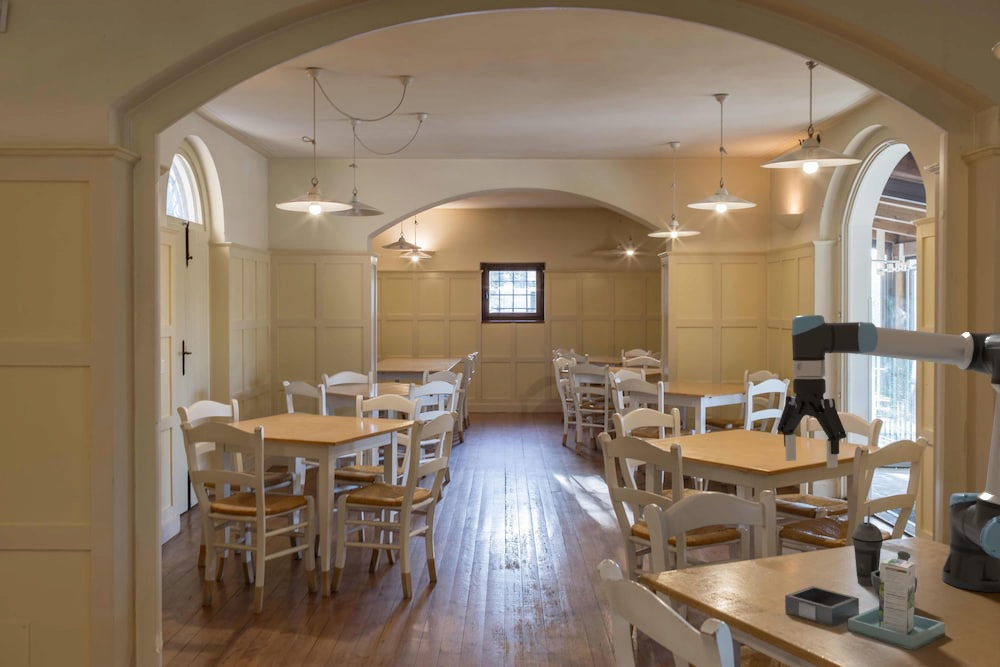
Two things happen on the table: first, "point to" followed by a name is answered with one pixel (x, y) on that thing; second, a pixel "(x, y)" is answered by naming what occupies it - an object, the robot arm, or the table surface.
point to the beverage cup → (867, 550)
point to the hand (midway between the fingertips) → (811, 464)
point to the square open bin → (822, 605)
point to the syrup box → (897, 595)
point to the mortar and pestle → (876, 574)
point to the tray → (915, 639)
